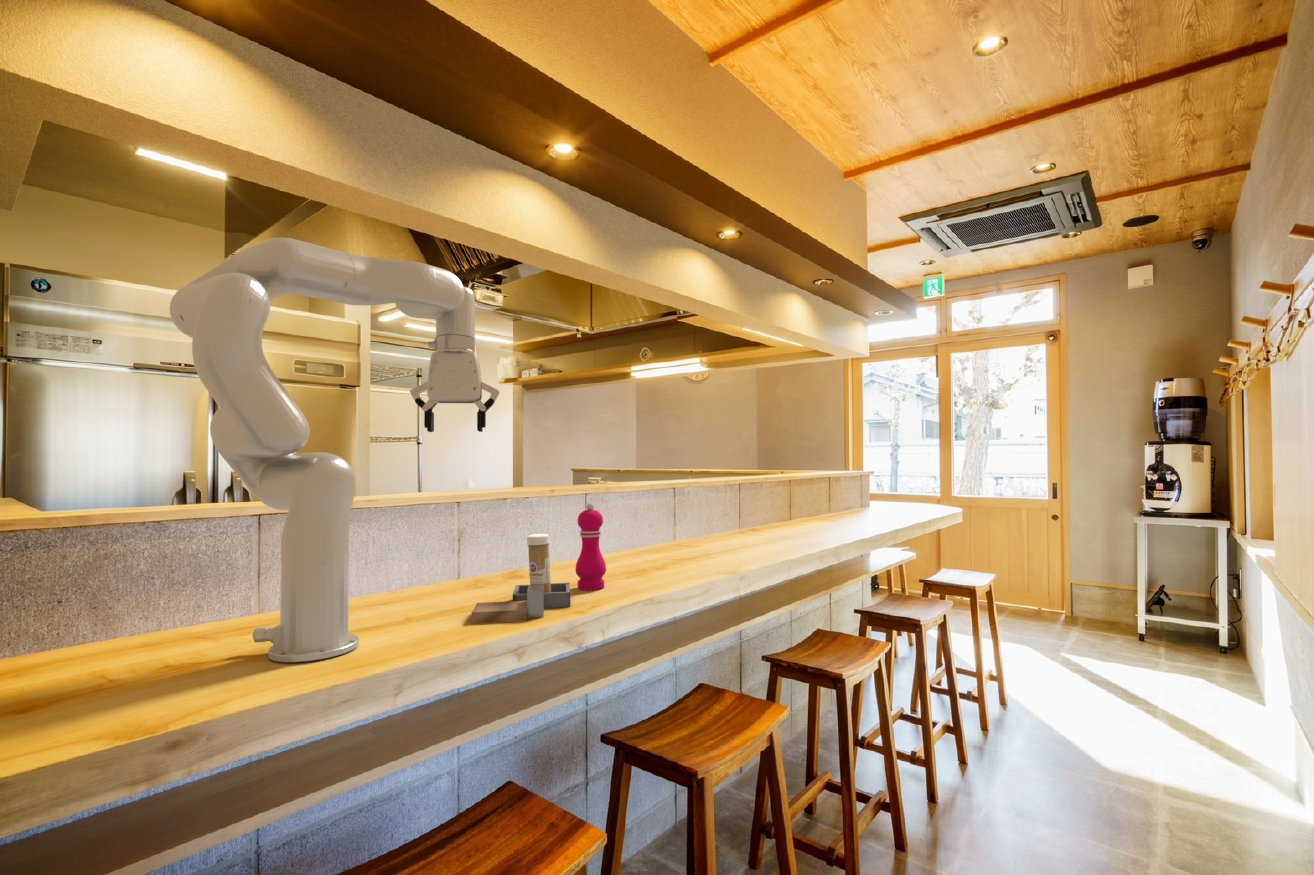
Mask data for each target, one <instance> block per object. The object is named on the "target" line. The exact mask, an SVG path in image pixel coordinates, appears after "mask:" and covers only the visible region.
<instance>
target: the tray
mask: <svg viewBox="0 0 1314 875" xmlns="http://www.w3.org/2000/svg"><path fill="white" fill-rule="evenodd" d="M570 584H571V583H570V582H559V583H558V582H557V583H556V582H555V583H553V582H551V593H544V609H550V608H552V609H553V608H567V607H569V608H570V607H571V588H570V587H571V585H570ZM529 585H530V584H517V585H516V584H515V587H514V590H513V593H512V601H527V590H528V586H529Z"/></svg>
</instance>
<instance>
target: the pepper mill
mask: <svg viewBox="0 0 1314 875" xmlns="http://www.w3.org/2000/svg"><path fill="white" fill-rule="evenodd" d="M594 508H595V505H594V504H593V503H592V502H589V503H587V504H586V509H584V510H583V511H581V512H580V513H579V514H578V517H577V525H578V527H579V528H580V530H579V533H580V535H579V537H580V538H581V551H580V554H579V556H578V559H577V561H576V564H575V570H574V571H575V574H576V575H577V576H578V578H579V580H577V589H578V590H580V591H598V590H599V591H600V590H603V589H604V588H605V580H604V579H603V577H604V576H605V574H606V572H607V566H606V565H607V564H606V561H605V559H604V556H603V554H602V552H601V549H600V537H601V536H602V534H601V533H602V530H601V529H600V528H601V527H602V526H603V523H604V519H603V518H604V517H603V515H602V513H601V512H600V511H598V510H597V509H594Z"/></svg>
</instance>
